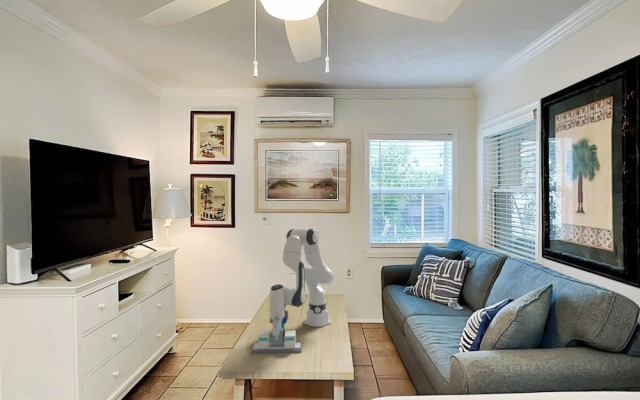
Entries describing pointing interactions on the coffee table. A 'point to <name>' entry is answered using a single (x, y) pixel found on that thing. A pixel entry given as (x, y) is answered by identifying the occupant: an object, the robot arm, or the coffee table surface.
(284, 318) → the toy robot
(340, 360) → the coffee table surface
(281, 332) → the block
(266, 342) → the rail rack
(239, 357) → the coffee table surface
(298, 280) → the robot arm
